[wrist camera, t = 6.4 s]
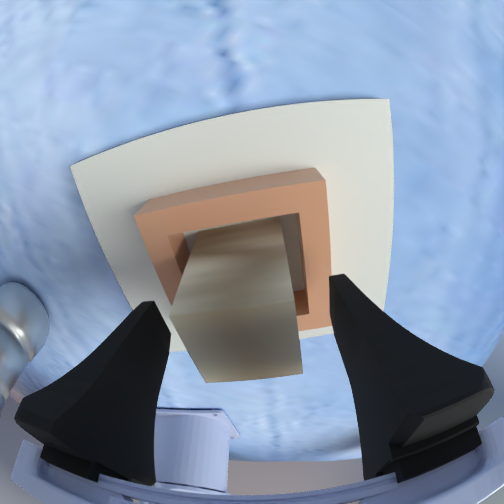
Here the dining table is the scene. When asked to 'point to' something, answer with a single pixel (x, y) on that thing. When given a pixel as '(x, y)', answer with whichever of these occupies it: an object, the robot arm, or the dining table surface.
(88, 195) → the cream flat mat
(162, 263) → the terracotta holder
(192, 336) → the birch peg
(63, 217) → the dining table surface
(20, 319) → the plastic bottle
